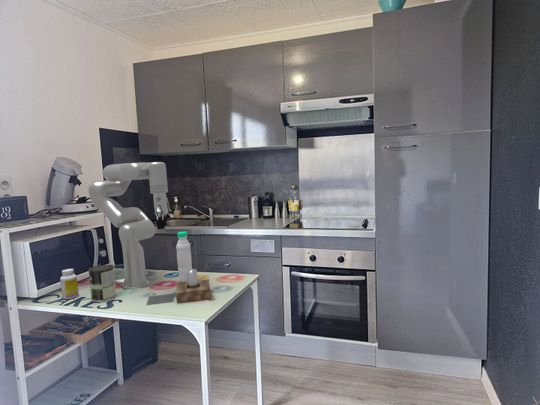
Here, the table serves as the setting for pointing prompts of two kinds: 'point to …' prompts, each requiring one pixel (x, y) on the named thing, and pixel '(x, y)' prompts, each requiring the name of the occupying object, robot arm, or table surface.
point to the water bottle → (183, 256)
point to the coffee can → (102, 283)
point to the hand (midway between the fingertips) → (162, 227)
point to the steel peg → (192, 278)
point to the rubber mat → (160, 299)
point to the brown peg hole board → (193, 292)
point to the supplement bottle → (69, 284)
